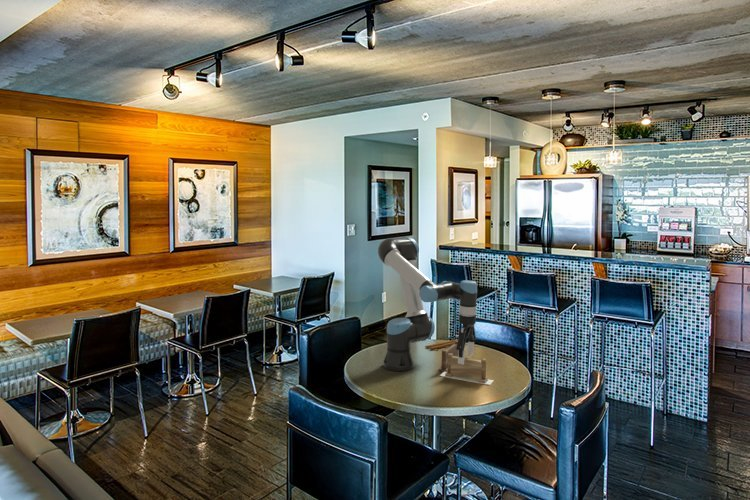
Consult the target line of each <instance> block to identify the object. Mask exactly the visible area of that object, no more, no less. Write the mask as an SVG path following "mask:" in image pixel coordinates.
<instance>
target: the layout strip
mask: <svg viewBox="0 0 750 500" xmlns="http://www.w3.org/2000/svg"><path fill="white" fill-rule="evenodd" d="M445 373H447V372H442V373H440V374H439V377H443V378H448V379H453V380H460V381H464V382H470V383H475V384H481V385H486V386H491V385H492V384H493V383H494V379H489V378H488V380H487V381H486V382H485V383H483V382H479V381H478V380H472V379H467V378H461V377H456V376H452V377H450V376H445Z"/></svg>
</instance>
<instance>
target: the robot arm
mask: <svg viewBox="0 0 750 500" xmlns="http://www.w3.org/2000/svg"><path fill="white" fill-rule="evenodd" d="M419 253H420V247H419V245H418V242H417V240H415V239H414V238H412V237H405V236H403V237H393V238H392V237H391V238H390V237H388V238H386V239H384V240H381V243H379V244H378V247H377V254H378V258H379V259H380V261H381V262H382V263H383V264H384V265H385V266H387V267H391V268H392V269H393V271H395V272H396V273H397V274H398V275H399V278H400V283H401V289H402V293H403V294H402V295H403V299H404V304H405V308H406V314H405V316H404V317H395V318H392V319H390V320H389V321H388V322H387V324H386V352H385V355H384V358H383V362H382V363H383V366H382V367H383V368H384V369H386V370H388V371H392V372H406V371H410V370H413V369H414V365H415V363H414V361H415V360H414V359H413V356H412V351H411V344H414V343H415V344H416V343H420V342H424V341H426V340H429V339H431V338H432V337H433V335H434V333H435V330H436V328H435V322H434V320H433V319H432V317H430V316H429V315H428V312H427V311H426V310H424V307H423V306H424V305H423V303H434V302H438V301H439V302H440V301H443V300H450V299H451V300H458V301H459V309H458V310H459V311H458V312H459V317H458V322H459V324H462V327H459V333H458V334H459V335H458V343H457V348H456V350H458V364H463V365H464V358H465V353H466V352H465V346H466V343H467V356H471V357H473V356H474V354H475V353H474V350H475V349H474V348H475V343H476V342H477V339H476V336H477V335H476V329H475V324H476V322H477V321H476V320H477V311H478V308H477V299H478V298H477V297H478V283H477V282H476V281H474V280H467V279H465V280H461V281H460V283H458V282H455V281H451V280H449V281H447V280H444V281H442V282H441V283H437V284H436V283H434V282H433V281H432V280H431V279H430V278H428V277H427V276H426V275H425V274H424V273H423V272H421V271H420V270H419V269H418V268H417V267H416V266H415V264H416V262H418V261H417V258H418V256H419ZM467 339H468V341H467Z"/></svg>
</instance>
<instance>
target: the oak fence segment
mask: <svg viewBox="0 0 750 500" xmlns="http://www.w3.org/2000/svg"><path fill="white" fill-rule="evenodd" d="M480 359H481V360H480ZM480 359H474V358H467V357H464V365H463V364H458V357H457V356H453V354H452V353H448V372H447V373H445V376H450V377H452V376H456V377H461V378H467V379H472V380H478V381H479V382H483V383H485V382H486V381H487V380H488V379H489V377H487V359H486V358H480Z"/></svg>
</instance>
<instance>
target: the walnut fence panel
mask: <svg viewBox="0 0 750 500" xmlns="http://www.w3.org/2000/svg"><path fill="white" fill-rule="evenodd" d="M457 343H458V341H455V344H453V345H450V346H448V347H449V348H445V349H442V350H441V366H440V367H439V368H438V372H442V373H443V372H448V353H452V354H453V356H457V357H458V350H456V348H457Z"/></svg>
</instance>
